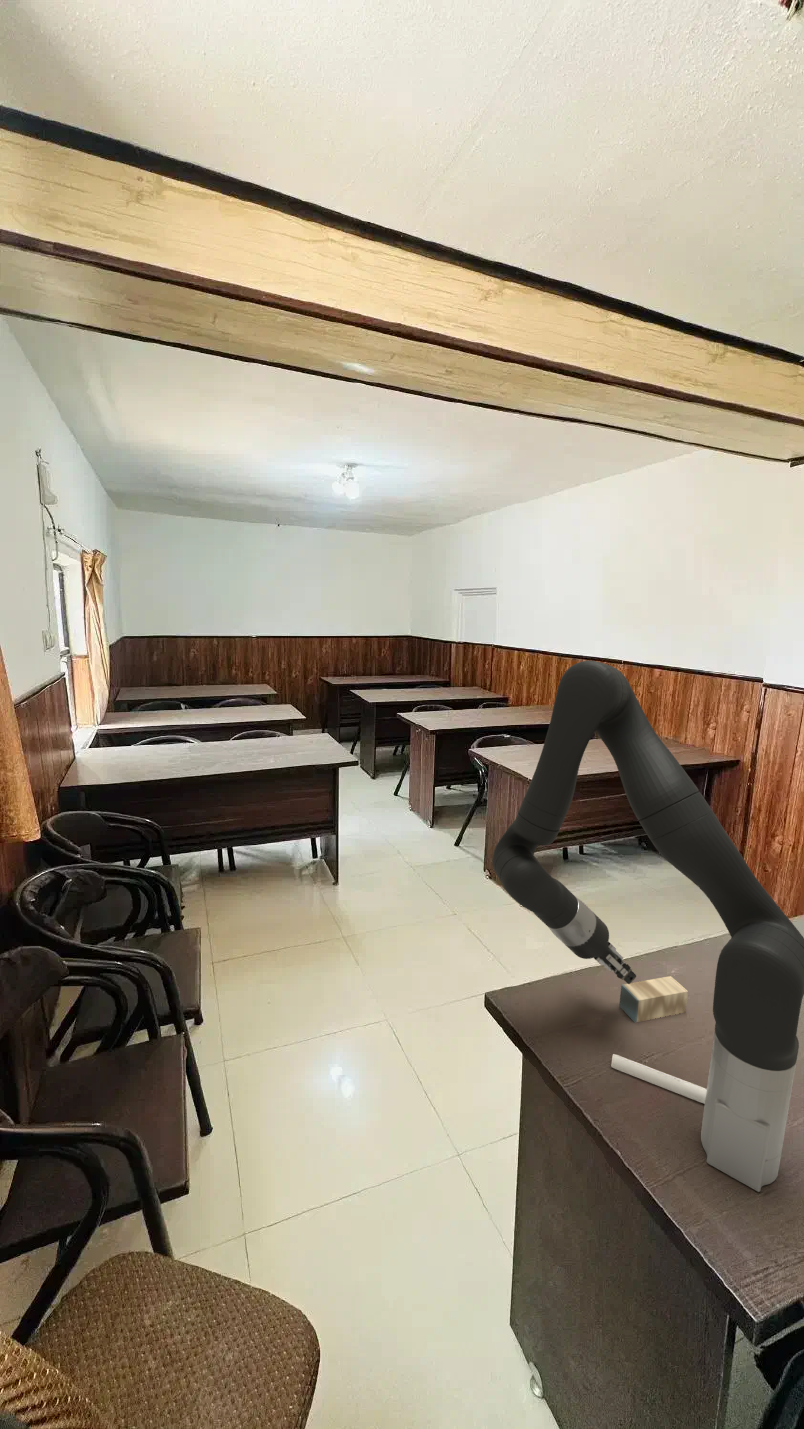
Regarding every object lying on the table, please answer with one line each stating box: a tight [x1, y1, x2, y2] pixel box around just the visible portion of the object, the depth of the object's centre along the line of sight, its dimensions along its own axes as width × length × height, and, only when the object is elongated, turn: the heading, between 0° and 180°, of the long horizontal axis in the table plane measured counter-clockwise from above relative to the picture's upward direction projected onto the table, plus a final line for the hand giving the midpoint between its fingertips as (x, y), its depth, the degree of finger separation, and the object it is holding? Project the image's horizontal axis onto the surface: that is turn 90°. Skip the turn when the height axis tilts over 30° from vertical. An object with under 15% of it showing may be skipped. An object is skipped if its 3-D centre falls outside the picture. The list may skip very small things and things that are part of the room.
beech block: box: [618, 975, 689, 1023], centre depth 104 cm, size 4×4×11 cm
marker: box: [610, 1053, 707, 1105], centre depth 87 cm, size 18×2×2 cm, turn 60°
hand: (630, 977), depth 101 cm, fingers closed
